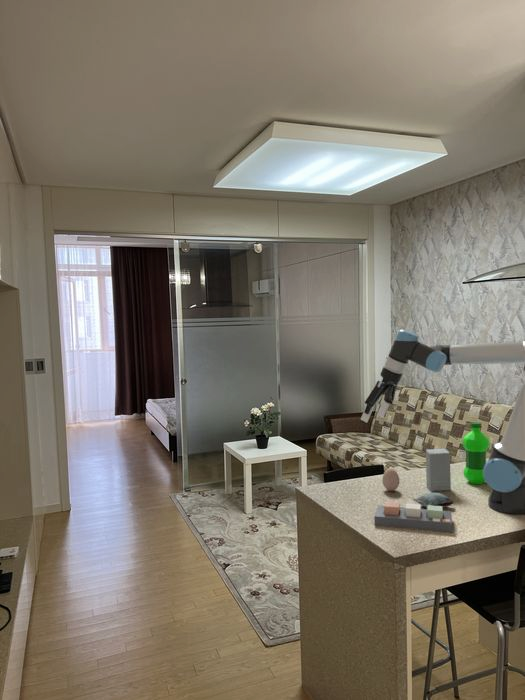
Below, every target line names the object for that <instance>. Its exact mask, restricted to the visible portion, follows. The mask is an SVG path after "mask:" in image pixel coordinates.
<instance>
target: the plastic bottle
mask: <svg viewBox="0 0 525 700" xmlns="http://www.w3.org/2000/svg"><path fill="white" fill-rule="evenodd" d="M469 427H470V428H471V430H470V432H468V433H467V434H466V435H465V436H464V437H463V439H462V447H463V448H464V449H465V467H464V469H463V476H464V478H465V479H466V480H467V481H468V482H469V483H470V484H474V485H481V484H483V483H484V482H486V481H485V479H484V476H483V469H484V466H485V464H486V463H487V451H488V449H489V447H490V440H489V437H488V436H486V435H485V434H484V433H483V432H482V431H481V429H482V422H479V421H478V422H477V421H471V422H470V426H469Z"/></svg>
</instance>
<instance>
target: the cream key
mask: <svg viewBox="0 0 525 700" xmlns="http://www.w3.org/2000/svg"><path fill="white" fill-rule="evenodd" d="M421 509H422V505H421V504H419V503H409V502H408V503H405V516H411V517H421Z"/></svg>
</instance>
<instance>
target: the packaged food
mask: <svg viewBox="0 0 525 700" xmlns="http://www.w3.org/2000/svg"><path fill="white" fill-rule="evenodd" d="M412 501H413V502H415V503H417V504H421V507H424V508H426V509H427V506H428V505H432V506H442V508H443V509H444V508H447V507H450V506H452V505H453V504H454V502H453V500H452V498H450V497H448V496H447V495H445V494H442V493H440V492H430V493H426V494H423V495H420V496H417V497H416V498H412Z"/></svg>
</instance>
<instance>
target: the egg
mask: <svg viewBox="0 0 525 700" xmlns="http://www.w3.org/2000/svg"><path fill="white" fill-rule="evenodd" d="M381 482H382V485H383V487H384V489H385V490H387V491H389V492H395V490H398V487H399V486H400V477H399V474H398V472H397V470H395V469H394V468H393V467H392V468H391V467H390V468H389V467H388V468H387V469H386V470H385V471H384V472H383V475H382V481H381Z"/></svg>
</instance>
